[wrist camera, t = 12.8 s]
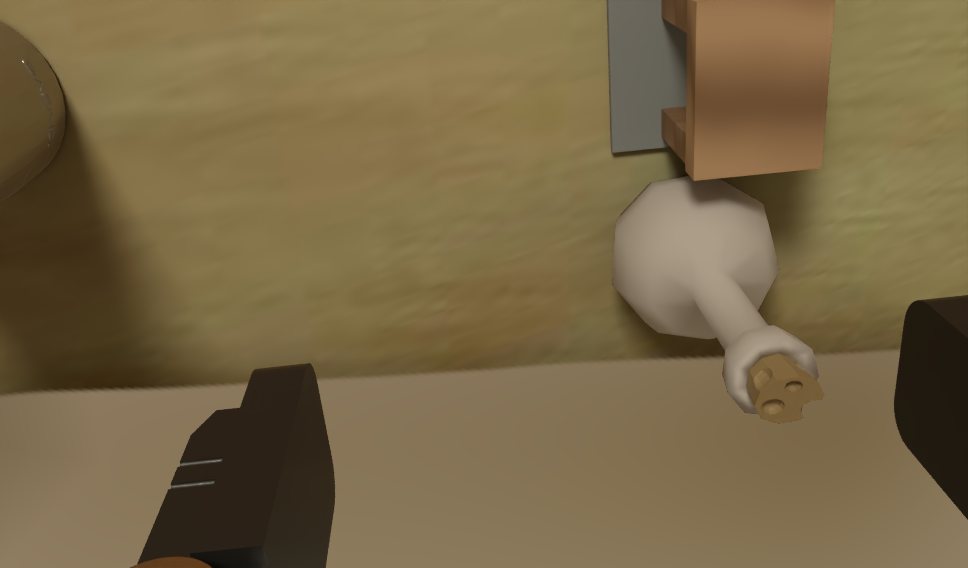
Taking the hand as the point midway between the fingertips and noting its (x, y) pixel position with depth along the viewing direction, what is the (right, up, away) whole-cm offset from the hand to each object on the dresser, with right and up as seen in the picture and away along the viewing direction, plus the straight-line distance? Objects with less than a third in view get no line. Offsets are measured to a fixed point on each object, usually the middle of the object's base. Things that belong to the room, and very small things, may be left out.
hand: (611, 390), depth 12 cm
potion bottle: (+9, +4, +38) cm, 40 cm away
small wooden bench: (+10, +13, +34) cm, 38 cm away
